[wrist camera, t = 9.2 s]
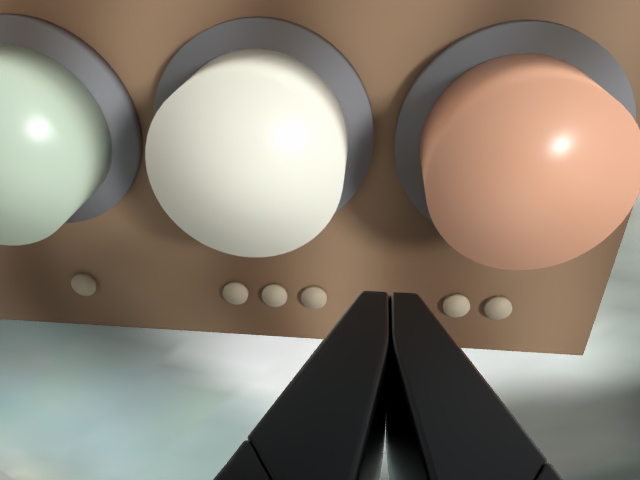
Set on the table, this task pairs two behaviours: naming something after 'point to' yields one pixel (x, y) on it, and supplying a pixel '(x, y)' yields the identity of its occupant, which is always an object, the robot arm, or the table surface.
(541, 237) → the terracotta button
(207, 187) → the cream button
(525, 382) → the table surface
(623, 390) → the table surface
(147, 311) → the button board
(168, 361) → the table surface
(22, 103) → the sage button
